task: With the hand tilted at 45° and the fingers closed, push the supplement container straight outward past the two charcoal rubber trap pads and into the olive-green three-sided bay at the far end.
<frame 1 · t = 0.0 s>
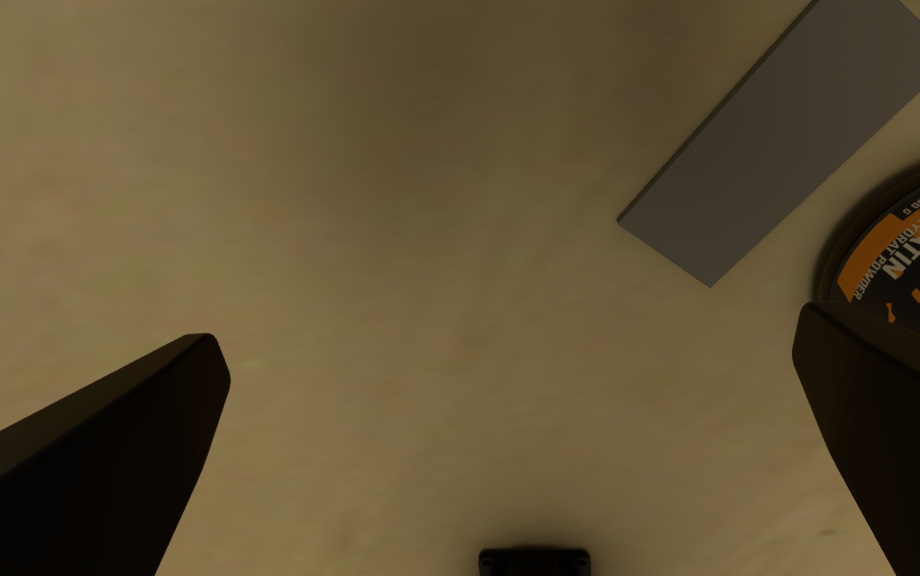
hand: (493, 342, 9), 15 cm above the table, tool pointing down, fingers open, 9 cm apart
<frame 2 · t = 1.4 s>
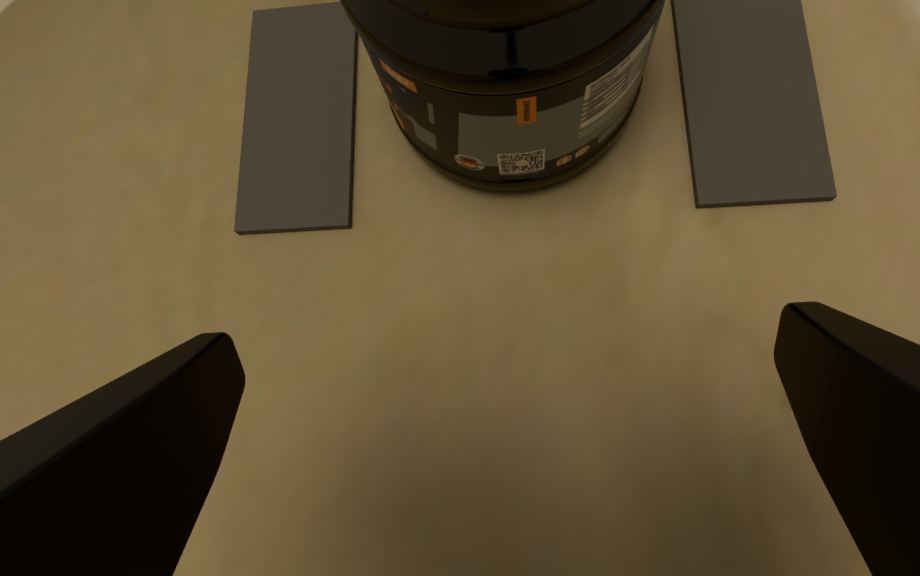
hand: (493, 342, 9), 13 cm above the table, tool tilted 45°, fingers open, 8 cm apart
trap pads: (512, 98, 25), on the table
supplement container: (512, 90, 25), on the table
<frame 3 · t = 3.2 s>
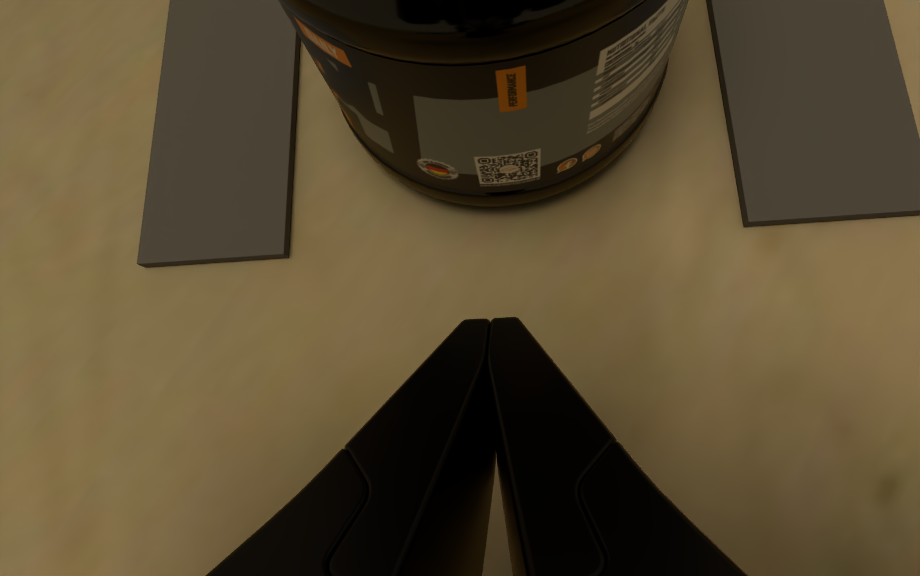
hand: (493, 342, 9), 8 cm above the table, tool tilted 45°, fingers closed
trap pads: (498, 87, 19), on the table
supplement container: (498, 77, 20), on the table
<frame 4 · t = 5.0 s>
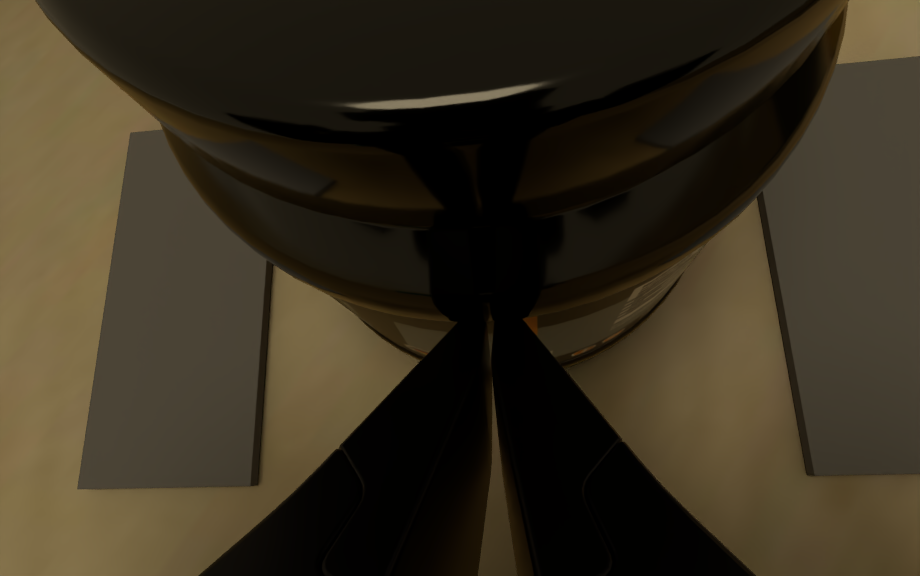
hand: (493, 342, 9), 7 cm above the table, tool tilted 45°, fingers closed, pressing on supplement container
trap pads: (507, 275, 16), on the table
supplement container: (504, 206, 17), on the table, touching gripper
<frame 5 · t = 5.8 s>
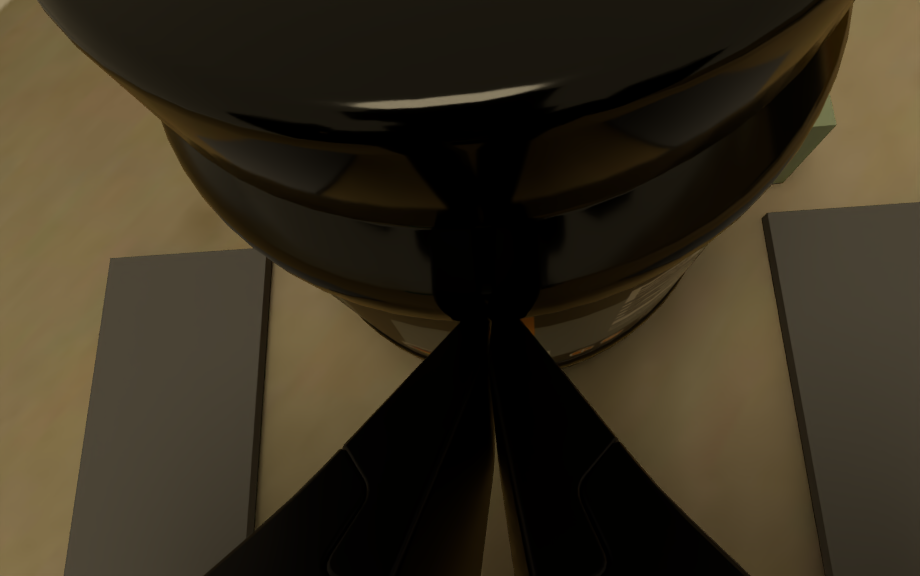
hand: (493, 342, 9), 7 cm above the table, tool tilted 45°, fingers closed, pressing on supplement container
trap pads: (514, 433, 15), on the table
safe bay: (497, 66, 18), on the table
supplement container: (505, 204, 17), on the table, touching gripper
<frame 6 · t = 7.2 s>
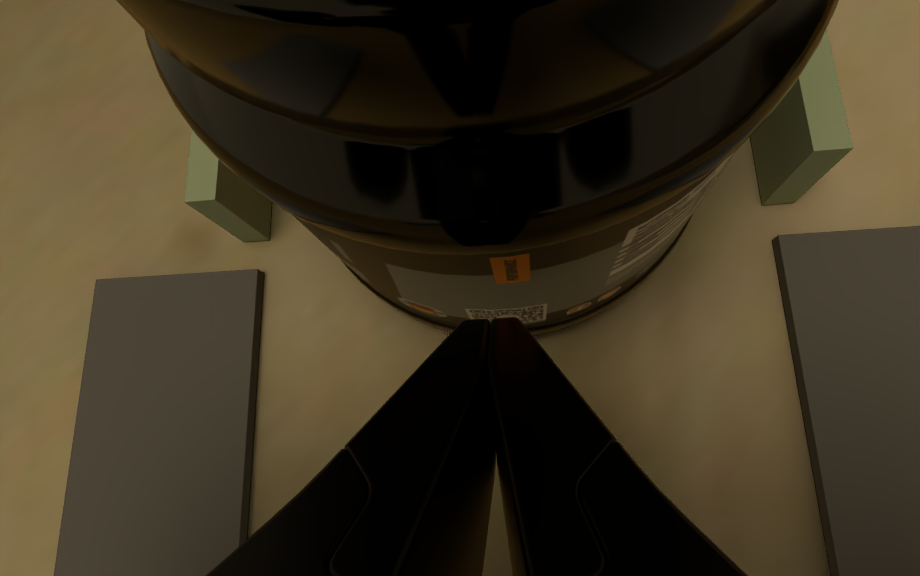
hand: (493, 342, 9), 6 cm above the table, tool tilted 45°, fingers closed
trap pads: (515, 465, 15), on the table
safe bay: (496, 79, 17), on the table
supplement container: (503, 169, 17), on the table
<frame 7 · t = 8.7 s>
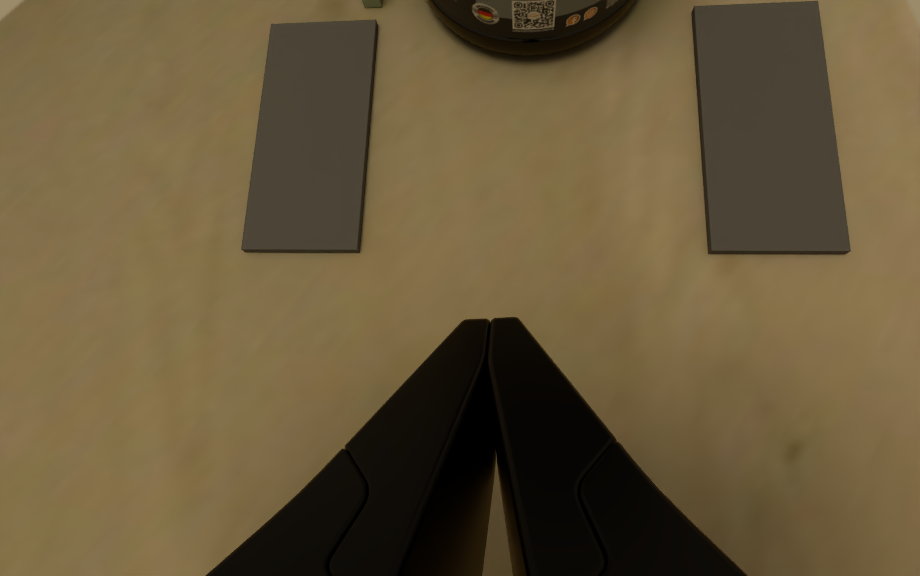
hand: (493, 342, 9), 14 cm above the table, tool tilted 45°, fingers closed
trap pads: (529, 130, 25), on the table
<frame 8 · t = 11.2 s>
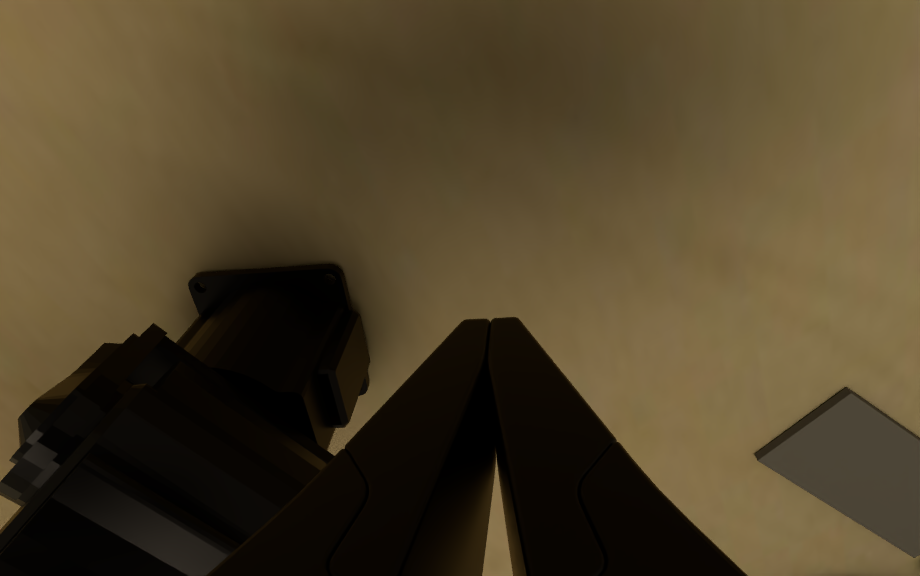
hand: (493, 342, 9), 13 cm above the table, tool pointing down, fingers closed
trap pads: (725, 573, 31), on the table
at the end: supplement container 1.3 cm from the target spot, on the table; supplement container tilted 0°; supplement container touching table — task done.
